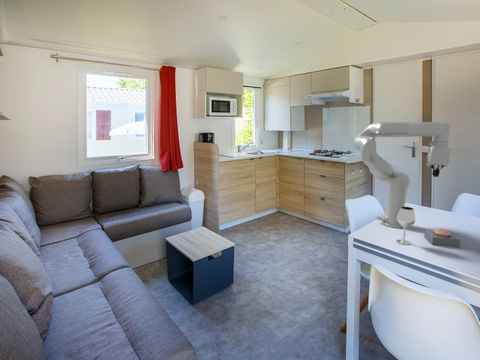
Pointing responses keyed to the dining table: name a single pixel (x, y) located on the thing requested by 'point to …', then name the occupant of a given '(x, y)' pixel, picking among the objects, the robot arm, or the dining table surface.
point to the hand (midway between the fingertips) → (435, 176)
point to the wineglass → (405, 221)
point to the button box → (442, 239)
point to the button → (442, 233)
